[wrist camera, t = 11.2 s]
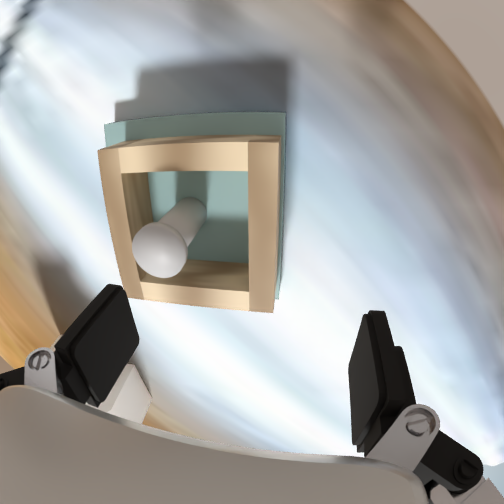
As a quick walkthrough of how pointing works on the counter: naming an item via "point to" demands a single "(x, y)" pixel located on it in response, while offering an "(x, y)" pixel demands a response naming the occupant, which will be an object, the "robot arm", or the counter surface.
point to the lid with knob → (198, 194)
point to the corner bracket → (125, 395)
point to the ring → (194, 271)
